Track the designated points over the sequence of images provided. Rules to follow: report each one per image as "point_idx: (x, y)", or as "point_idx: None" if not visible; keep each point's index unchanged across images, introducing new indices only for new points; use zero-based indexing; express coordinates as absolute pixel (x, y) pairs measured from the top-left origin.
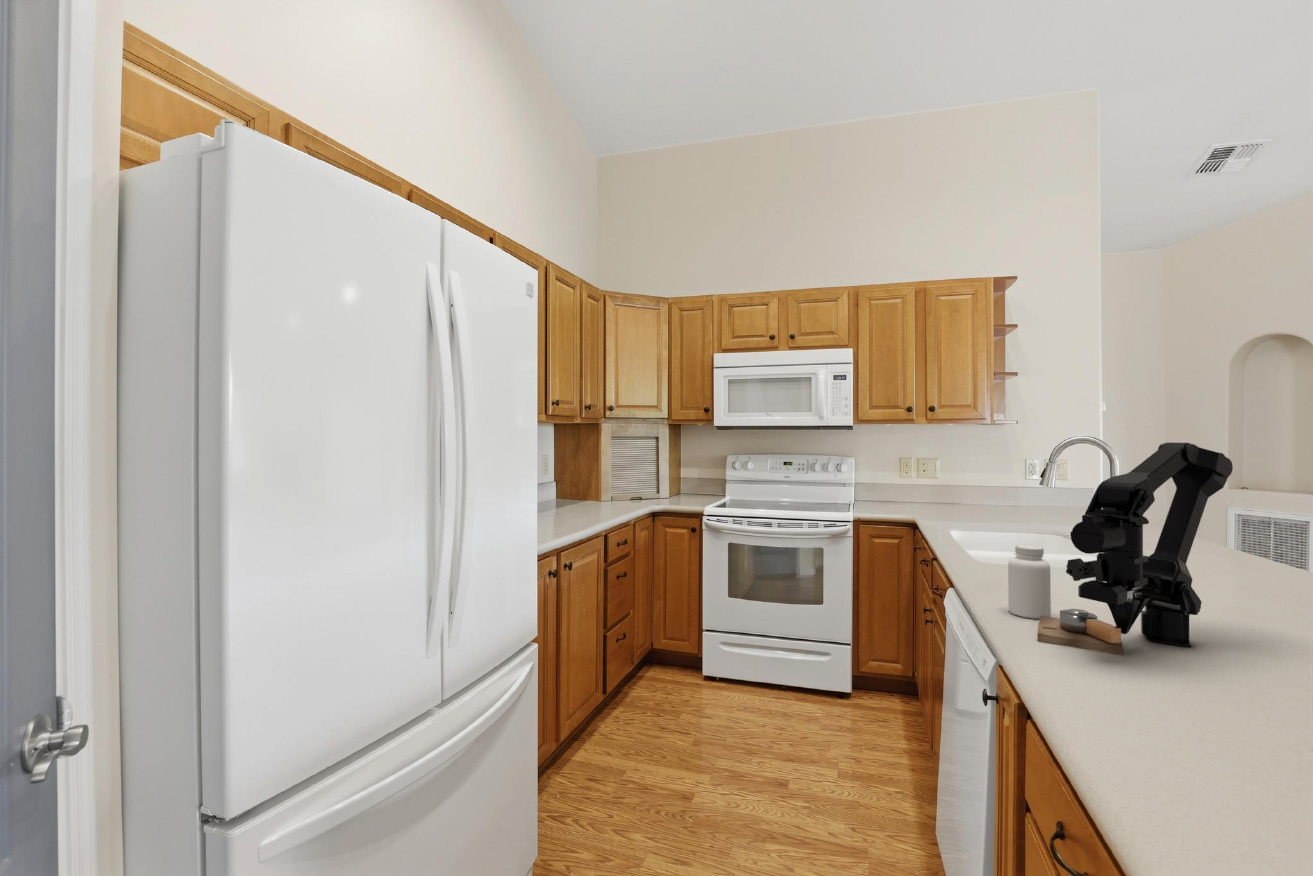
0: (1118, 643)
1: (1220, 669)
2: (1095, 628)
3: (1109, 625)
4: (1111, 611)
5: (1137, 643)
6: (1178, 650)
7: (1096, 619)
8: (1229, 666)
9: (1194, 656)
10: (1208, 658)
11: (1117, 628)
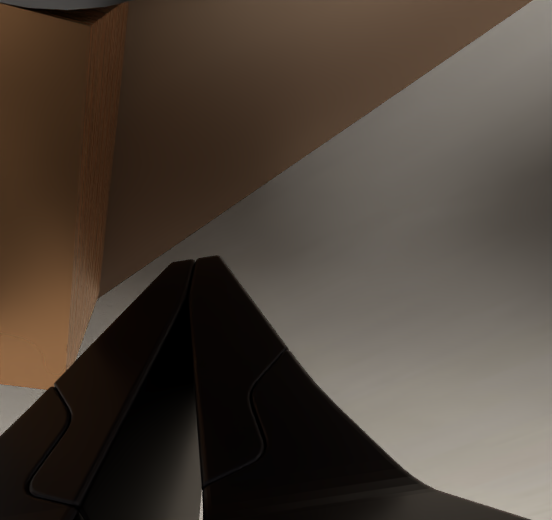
0: (126, 246)
1: None
2: None
3: (14, 304)
4: (8, 440)
5: (486, 139)
6: (549, 314)
7: (67, 61)
8: (471, 485)
9: (499, 388)
10: (523, 418)
11: (20, 385)
